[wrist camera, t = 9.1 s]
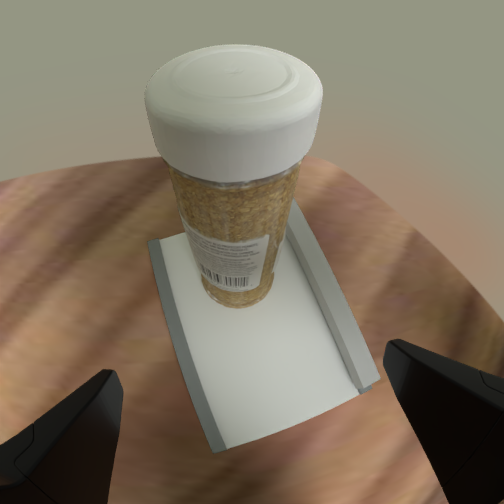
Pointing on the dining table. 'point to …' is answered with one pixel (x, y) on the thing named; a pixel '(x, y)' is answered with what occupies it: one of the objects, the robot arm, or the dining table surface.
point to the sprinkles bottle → (234, 157)
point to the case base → (263, 341)
